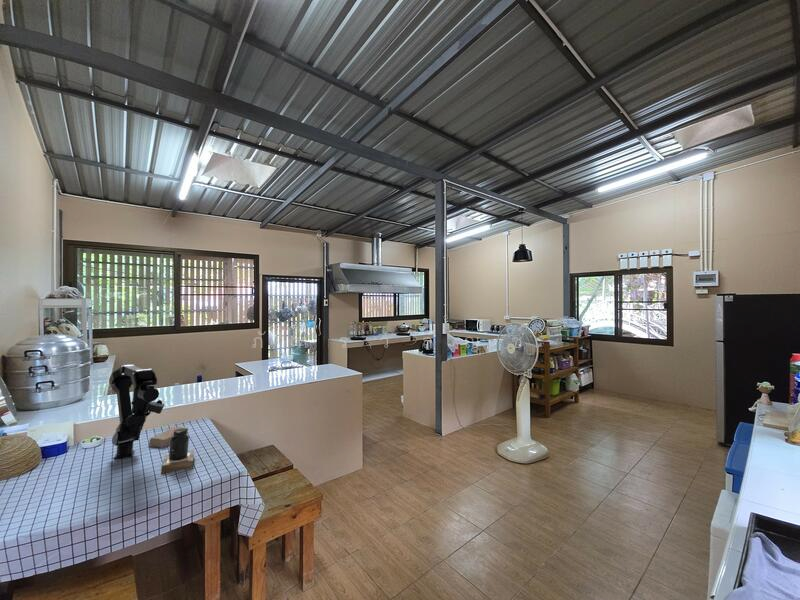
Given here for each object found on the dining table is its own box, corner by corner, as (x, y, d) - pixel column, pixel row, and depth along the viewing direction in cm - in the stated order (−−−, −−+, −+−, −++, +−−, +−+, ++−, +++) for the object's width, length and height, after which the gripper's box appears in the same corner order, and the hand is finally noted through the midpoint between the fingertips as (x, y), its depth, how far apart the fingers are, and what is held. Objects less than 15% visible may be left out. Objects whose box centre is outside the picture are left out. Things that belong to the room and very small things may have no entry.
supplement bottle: (165, 461, 135) (168, 433, 135) (172, 454, 141) (174, 427, 142) (183, 460, 136) (186, 432, 137) (190, 453, 143) (192, 426, 144)
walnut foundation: (164, 462, 140) (164, 455, 141) (193, 457, 146) (194, 450, 146) (161, 473, 131) (161, 465, 131) (192, 467, 137) (193, 460, 137)
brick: (163, 448, 155) (164, 438, 155) (147, 447, 156) (148, 437, 156) (188, 435, 171) (189, 427, 172) (173, 434, 172) (174, 426, 172)
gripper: (160, 401, 136) (158, 438, 135) (166, 391, 152) (163, 424, 151) (127, 404, 130) (124, 442, 129) (136, 393, 146) (133, 427, 145)
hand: (138, 433), depth 139 cm, fingers open, 9 cm apart
